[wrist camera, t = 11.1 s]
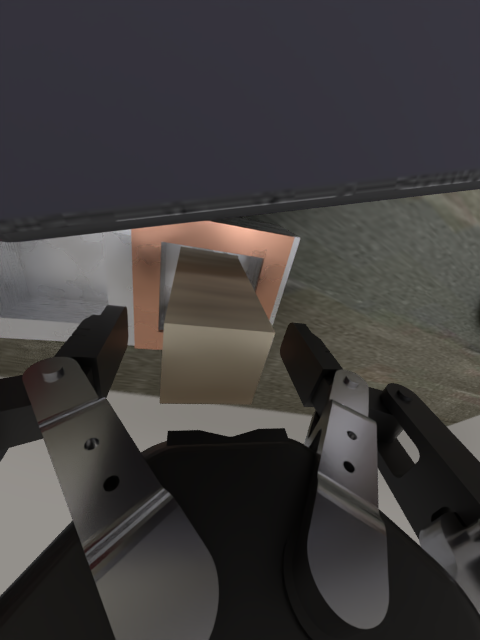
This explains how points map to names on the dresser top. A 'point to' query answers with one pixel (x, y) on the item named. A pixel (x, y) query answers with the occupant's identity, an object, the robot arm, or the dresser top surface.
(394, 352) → the dresser top surface
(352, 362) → the dresser top surface
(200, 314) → the peg
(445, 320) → the dresser top surface
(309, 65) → the dark grey box
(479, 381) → the dresser top surface
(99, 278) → the rail
